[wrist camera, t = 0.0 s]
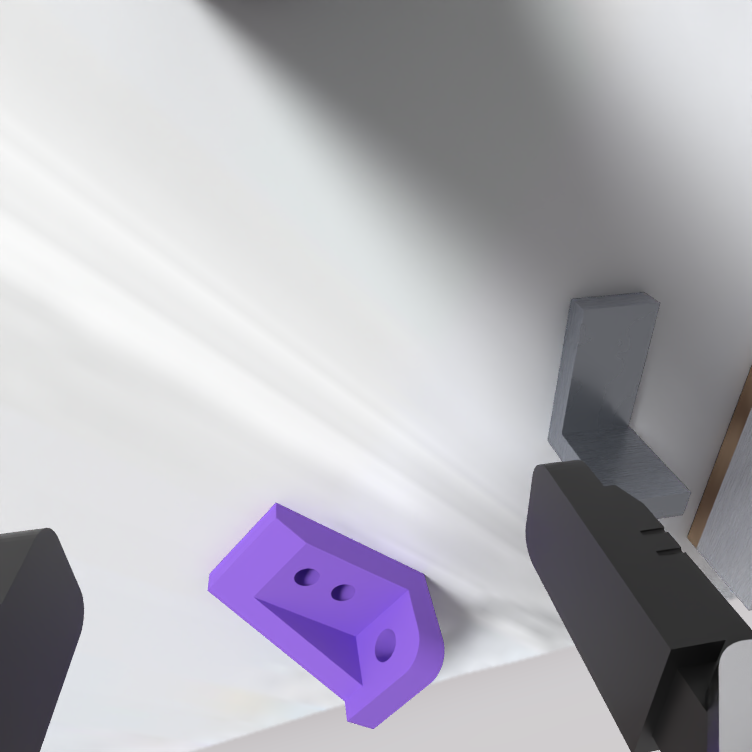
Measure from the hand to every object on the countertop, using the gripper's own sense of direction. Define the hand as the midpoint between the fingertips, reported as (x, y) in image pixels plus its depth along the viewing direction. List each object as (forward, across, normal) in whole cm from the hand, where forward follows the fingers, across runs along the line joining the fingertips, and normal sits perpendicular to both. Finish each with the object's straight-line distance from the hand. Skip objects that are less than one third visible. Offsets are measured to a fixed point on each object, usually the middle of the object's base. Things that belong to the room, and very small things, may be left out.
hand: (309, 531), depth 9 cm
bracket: (+18, 0, +21) cm, 28 cm away
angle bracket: (+18, -16, +8) cm, 25 cm away
